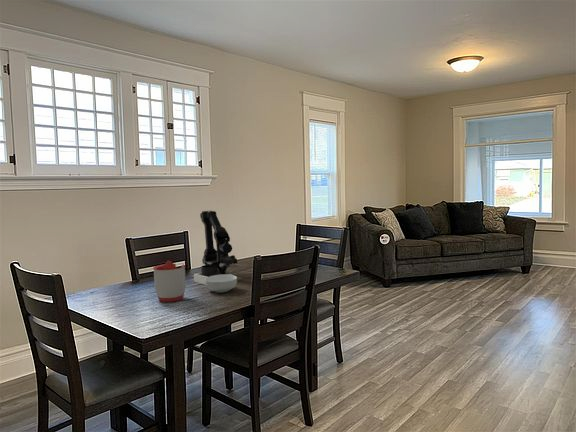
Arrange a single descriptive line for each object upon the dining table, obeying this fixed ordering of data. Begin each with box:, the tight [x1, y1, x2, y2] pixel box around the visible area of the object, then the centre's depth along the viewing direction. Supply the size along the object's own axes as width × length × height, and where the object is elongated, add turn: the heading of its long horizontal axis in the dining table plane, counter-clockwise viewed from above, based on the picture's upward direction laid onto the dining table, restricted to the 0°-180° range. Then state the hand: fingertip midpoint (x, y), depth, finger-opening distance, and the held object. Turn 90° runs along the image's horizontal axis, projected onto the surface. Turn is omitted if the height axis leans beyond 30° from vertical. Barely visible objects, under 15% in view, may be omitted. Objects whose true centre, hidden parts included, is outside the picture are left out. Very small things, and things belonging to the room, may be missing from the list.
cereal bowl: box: [205, 273, 238, 294], centre depth 242 cm, size 17×17×7 cm
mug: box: [200, 264, 221, 277], centre depth 264 cm, size 9×12×9 cm
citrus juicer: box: [152, 260, 186, 303], centre depth 228 cm, size 16×17×20 cm
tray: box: [193, 272, 233, 286], centre depth 264 cm, size 18×14×4 cm
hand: (223, 277), depth 269 cm, fingers closed
